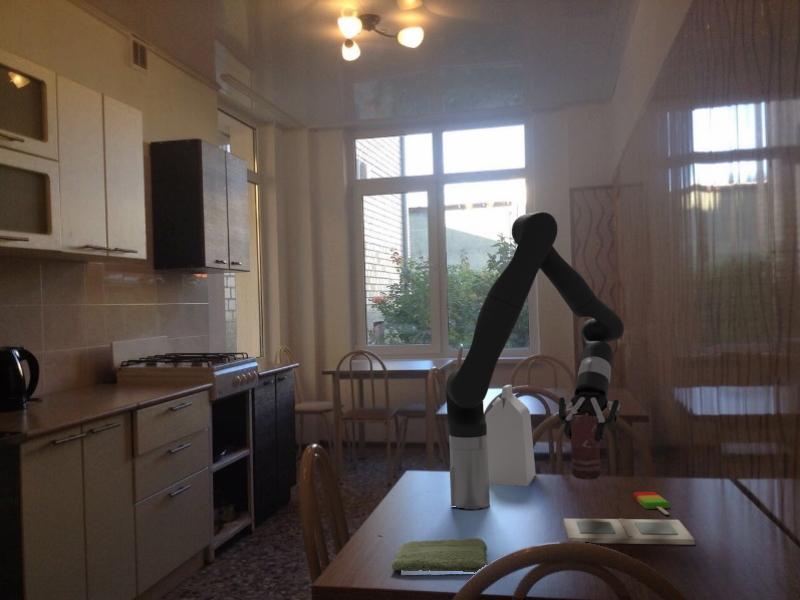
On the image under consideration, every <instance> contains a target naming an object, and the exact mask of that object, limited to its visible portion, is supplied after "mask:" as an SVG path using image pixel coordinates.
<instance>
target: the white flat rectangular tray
mask: <svg viewBox="0 0 800 600" xmlns="http://www.w3.org/2000/svg"><path fill="white" fill-rule="evenodd" d="M563 525H564V529H565V531H566V536H567V538H568V539H567V540H568V542H569V541H580V542H589V543H588V544H631V545H633V544H634V545H635V544H636V545H638V544H639V545H643V544H644V545H696V540H695V538H694V536H692V534H691V533H690V532H689V531H688V529H687V528H686V527H685V526H684V525H683V523H682V522H681V521H680V519H654V518H653V519H650V518H649V519H640V518H639V519H638V518H636V519H635V518H633V519H632V518H631V519H630V518H629V519H628V518H616V519H615V518H563Z"/></svg>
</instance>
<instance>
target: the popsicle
mask: <svg viewBox="0 0 800 600" xmlns="http://www.w3.org/2000/svg"><path fill="white" fill-rule="evenodd" d="M633 499H634V500H635V501H636V502H637V503H638V502H639V503H638V504H640V505H641V506H642V507H643V508H645V509H646V510H649V509H651V510H653V509H654V510H655V509H657V510H658V511H659V512H661V513H662V514H664V515H666V516H667V515H670V512H668V511H667V510H665V509H670V502H668V501H667V500H666V499H665V498H663V497H662V496H661V495H659V494H658V493H657V492H655V491H635V492H634V493H633Z"/></svg>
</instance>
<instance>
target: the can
mask: <svg viewBox="0 0 800 600" xmlns="http://www.w3.org/2000/svg"><path fill="white" fill-rule="evenodd" d="M570 423H571V440H570V443H571V445H570V448H571V452H570V453H571V472H572V476H573V477H574V478H576V479H580V480H596V479H599V478H600V476H601V461H600V458H601V457H600V442H597V439H596V434H597V427H598V423H599V421H598V418H597V415H596V414H591V413H576V414H572V416H571V419H570Z"/></svg>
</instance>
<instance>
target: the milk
mask: <svg viewBox="0 0 800 600" xmlns="http://www.w3.org/2000/svg"><path fill="white" fill-rule="evenodd" d="M501 390H502V391H501V398H500V397H499V396H498V397H497V398H496V399H495V400H494V401H493V402H492V403H491V405H492V407H491V408H490V409H489V410H488V412H487V413H486V414H485V421H486V425H487V448H488V472H489V483H495V484H494V485H498V484H503V485H502V486H514V485H517V486H516V487H528V486H529V485H530V484H531V482H532V481H533V479H535V477H536V475H537V474H536V464H535V462H536V461H535V454H534V453H535V451H534V443H533V441H534V440H533V433H532V432H533V431H532V430H533V429H532V418H531V412H530V410H529V408H528V407H527V405H525V403H523V402H522V401H521V400H520V399H519V398H518V397H516V395H514V393H513V384H506V385H504V386H502V389H501ZM534 476H535V477H534Z"/></svg>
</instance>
